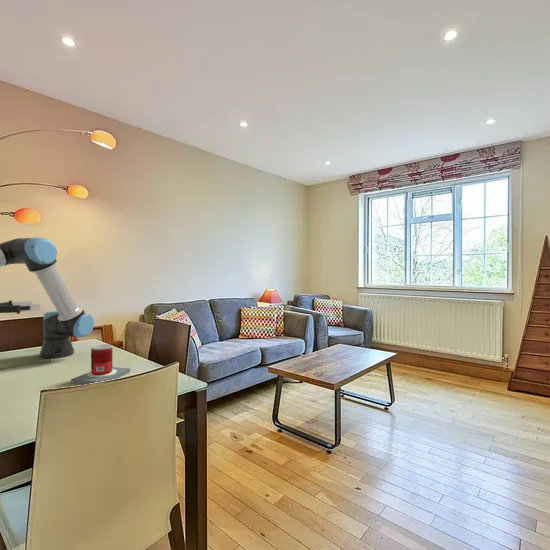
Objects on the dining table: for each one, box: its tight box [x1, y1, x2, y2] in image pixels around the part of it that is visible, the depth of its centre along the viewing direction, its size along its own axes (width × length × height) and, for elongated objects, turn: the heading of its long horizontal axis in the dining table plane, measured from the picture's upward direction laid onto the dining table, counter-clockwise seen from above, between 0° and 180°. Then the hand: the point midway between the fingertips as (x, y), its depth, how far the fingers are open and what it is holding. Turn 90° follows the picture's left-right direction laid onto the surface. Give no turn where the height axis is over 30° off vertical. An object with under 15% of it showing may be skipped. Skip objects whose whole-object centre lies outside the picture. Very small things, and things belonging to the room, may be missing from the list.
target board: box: [70, 366, 131, 385], centre depth 142 cm, size 18×14×2 cm
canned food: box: [90, 344, 113, 375], centre depth 142 cm, size 8×8×11 cm
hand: (35, 305), depth 140 cm, fingers open, 13 cm apart
